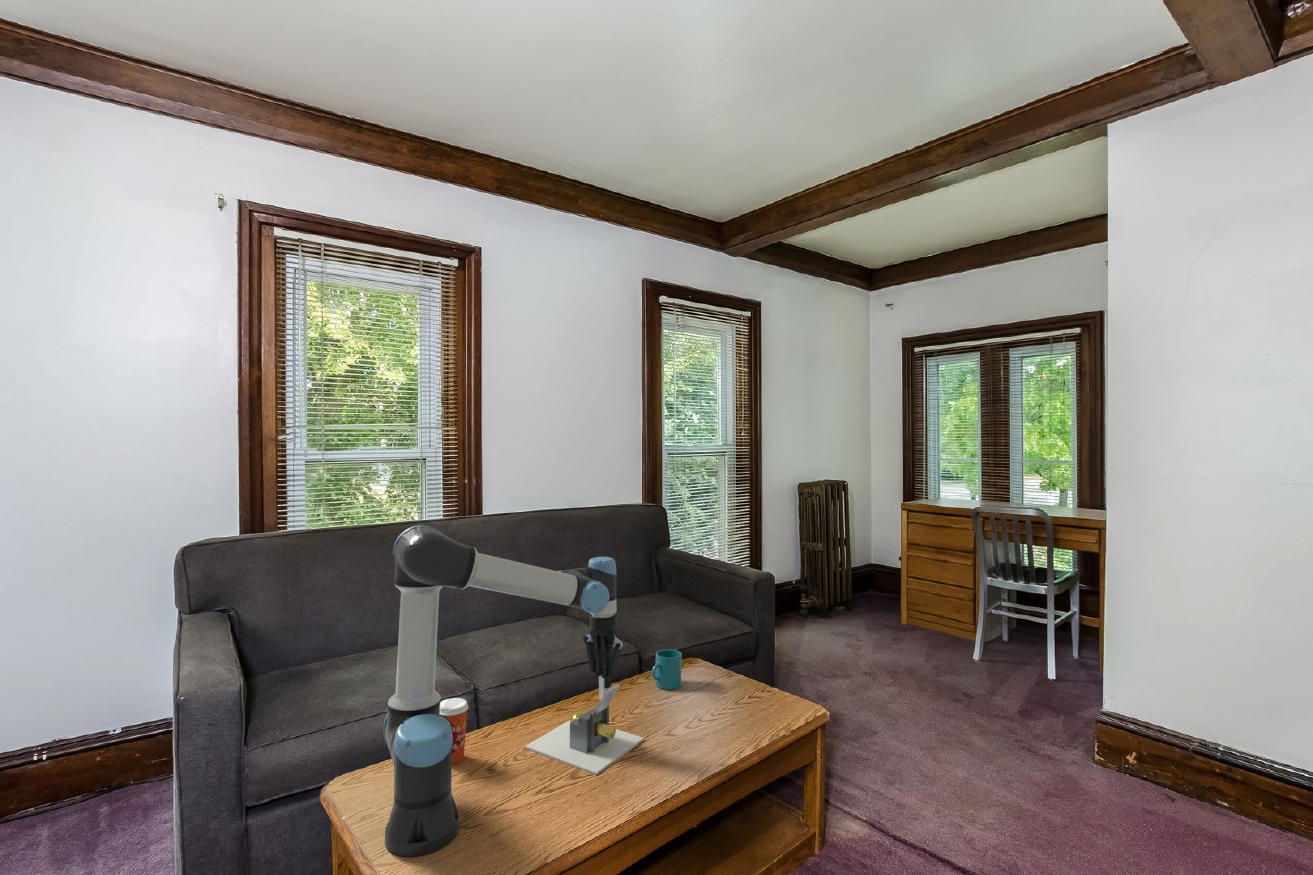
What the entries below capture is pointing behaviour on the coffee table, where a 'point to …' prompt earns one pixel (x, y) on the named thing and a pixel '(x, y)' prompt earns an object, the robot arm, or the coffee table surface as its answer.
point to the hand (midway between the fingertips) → (604, 698)
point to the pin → (598, 727)
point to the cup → (668, 669)
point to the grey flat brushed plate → (606, 698)
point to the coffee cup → (456, 724)
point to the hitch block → (588, 731)
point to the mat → (559, 749)
